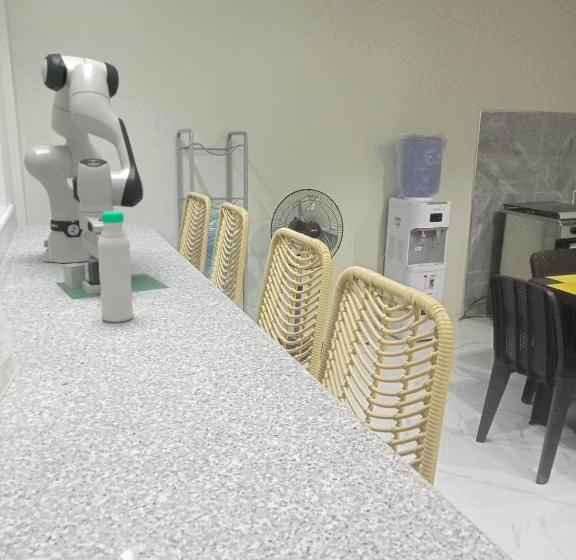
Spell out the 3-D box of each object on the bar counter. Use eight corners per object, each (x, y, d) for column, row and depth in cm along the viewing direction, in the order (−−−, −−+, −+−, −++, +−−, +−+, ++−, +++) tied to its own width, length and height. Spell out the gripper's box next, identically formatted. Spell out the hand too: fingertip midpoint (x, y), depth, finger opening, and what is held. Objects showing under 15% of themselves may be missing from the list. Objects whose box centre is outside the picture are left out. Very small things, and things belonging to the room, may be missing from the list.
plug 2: (88, 288, 156) (87, 258, 154) (107, 285, 158) (105, 257, 156) (93, 291, 152) (91, 261, 150) (112, 289, 154) (110, 260, 152)
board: (56, 287, 161) (55, 276, 160) (145, 277, 175) (145, 267, 174) (72, 303, 144) (72, 291, 144) (170, 291, 158) (169, 280, 158)
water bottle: (139, 316, 135) (134, 211, 129) (121, 324, 129) (116, 214, 123) (114, 313, 137) (108, 209, 132) (95, 321, 131) (88, 212, 125)
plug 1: (63, 285, 158) (62, 264, 157) (77, 283, 161) (75, 262, 160) (72, 288, 155) (70, 266, 153) (86, 286, 158) (84, 264, 156)
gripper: (75, 217, 157) (78, 266, 160) (95, 227, 141) (98, 281, 144) (98, 216, 161) (101, 264, 164) (120, 225, 144) (122, 278, 147)
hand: (99, 272), depth 154 cm, fingers open, 8 cm apart
